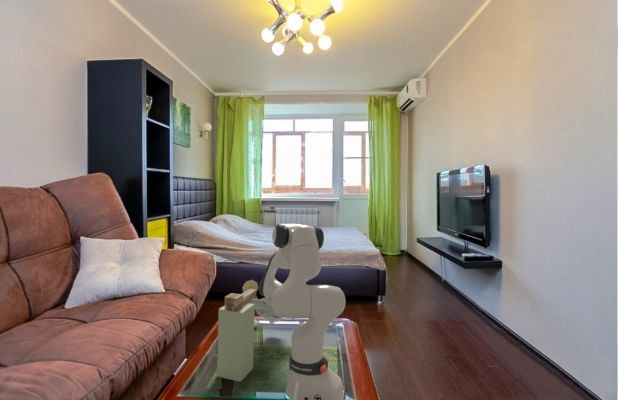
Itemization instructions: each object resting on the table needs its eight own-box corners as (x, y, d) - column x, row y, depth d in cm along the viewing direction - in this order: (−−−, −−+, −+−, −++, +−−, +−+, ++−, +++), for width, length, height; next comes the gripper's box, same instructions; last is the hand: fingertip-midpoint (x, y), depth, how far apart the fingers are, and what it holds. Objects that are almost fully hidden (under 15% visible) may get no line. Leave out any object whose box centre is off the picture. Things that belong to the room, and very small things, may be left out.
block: (258, 297, 142) (258, 285, 141) (236, 312, 124) (236, 298, 124) (247, 295, 143) (247, 283, 143) (224, 310, 126) (224, 296, 126)
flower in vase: (230, 327, 171) (231, 279, 170) (246, 320, 180) (247, 274, 179) (248, 335, 164) (250, 284, 162) (264, 327, 173) (266, 279, 172)
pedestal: (253, 368, 134) (254, 304, 133) (240, 381, 125) (242, 313, 124) (230, 363, 137) (232, 300, 136) (217, 376, 128) (218, 309, 127)
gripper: (247, 298, 160) (235, 290, 149) (287, 303, 154) (278, 296, 142) (244, 311, 158) (231, 305, 146) (284, 318, 151) (274, 312, 140)
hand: (254, 301), depth 144 cm, fingers open, 8 cm apart
